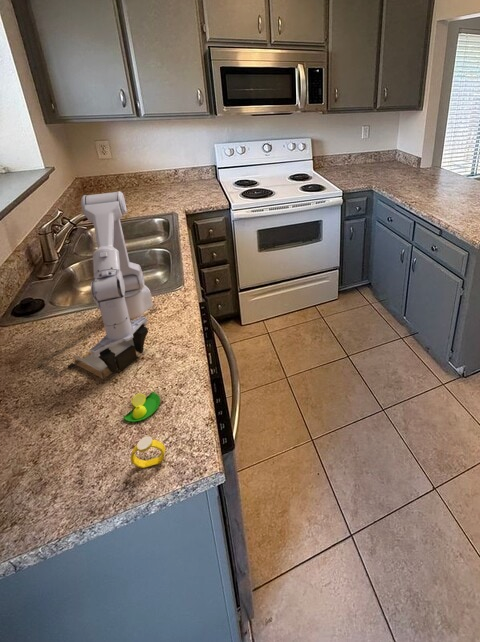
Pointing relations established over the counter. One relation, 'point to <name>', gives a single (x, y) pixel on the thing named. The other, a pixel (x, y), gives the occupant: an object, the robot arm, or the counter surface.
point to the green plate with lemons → (143, 406)
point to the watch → (144, 446)
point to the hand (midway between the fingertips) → (127, 361)
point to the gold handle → (71, 365)
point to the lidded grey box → (123, 357)
